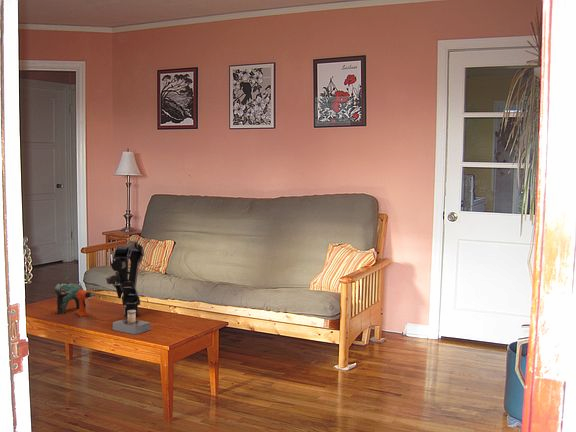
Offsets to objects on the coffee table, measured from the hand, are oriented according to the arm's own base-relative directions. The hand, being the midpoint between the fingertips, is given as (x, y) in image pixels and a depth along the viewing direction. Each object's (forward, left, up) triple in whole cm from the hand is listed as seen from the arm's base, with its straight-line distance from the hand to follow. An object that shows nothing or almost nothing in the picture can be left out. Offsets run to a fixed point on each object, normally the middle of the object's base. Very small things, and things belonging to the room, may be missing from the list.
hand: (122, 299), depth 322 cm
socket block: (-2, +16, -13) cm, 20 cm away
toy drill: (+15, -22, -13) cm, 30 cm away
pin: (-2, +16, -13) cm, 20 cm away
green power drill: (+22, -40, -13) cm, 48 cm away
